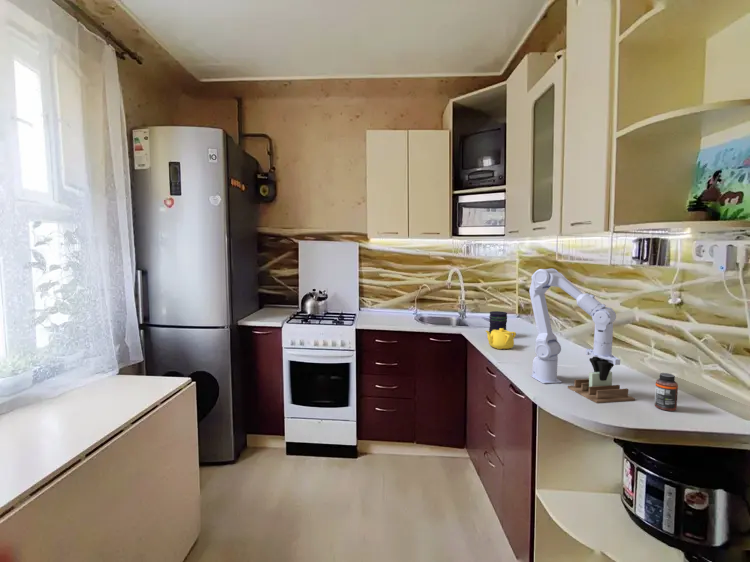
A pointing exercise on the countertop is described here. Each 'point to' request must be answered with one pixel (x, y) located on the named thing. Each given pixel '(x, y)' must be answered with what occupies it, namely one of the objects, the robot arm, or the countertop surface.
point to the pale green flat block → (595, 379)
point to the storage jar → (497, 320)
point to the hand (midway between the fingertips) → (600, 379)
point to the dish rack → (601, 392)
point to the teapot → (501, 338)
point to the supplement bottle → (666, 392)
